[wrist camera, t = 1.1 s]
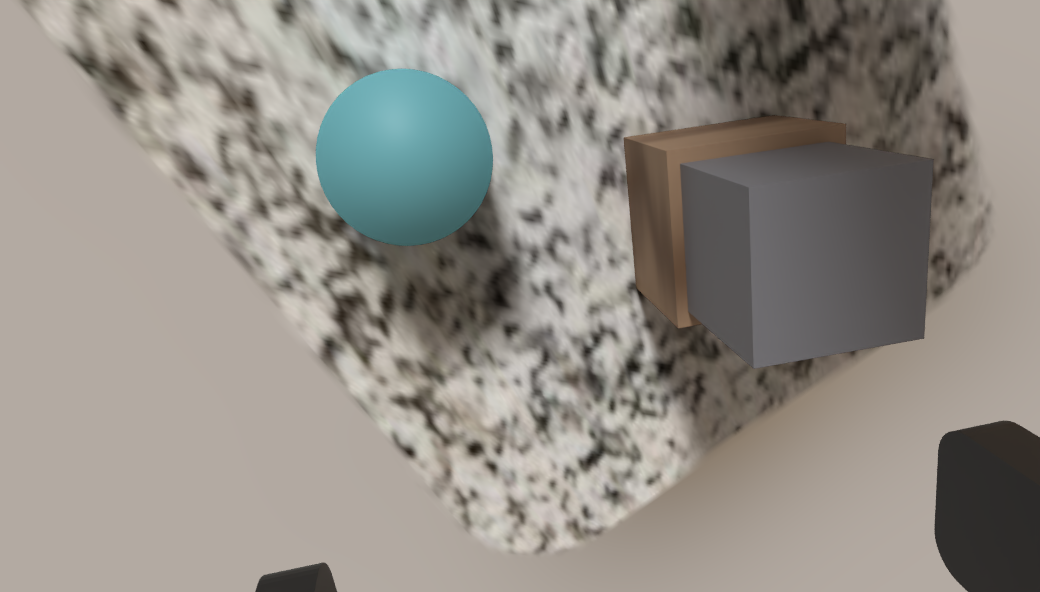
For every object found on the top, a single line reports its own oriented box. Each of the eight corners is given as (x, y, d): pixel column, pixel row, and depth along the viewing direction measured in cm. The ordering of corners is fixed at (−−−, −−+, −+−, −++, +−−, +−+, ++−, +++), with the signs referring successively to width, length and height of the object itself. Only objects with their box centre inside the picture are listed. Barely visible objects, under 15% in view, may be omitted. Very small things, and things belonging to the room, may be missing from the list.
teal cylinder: (324, 79, 25) (297, 82, 20) (465, 60, 26) (479, 57, 20) (352, 219, 27) (335, 258, 21) (485, 198, 27) (503, 231, 22)
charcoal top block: (680, 163, 23) (748, 187, 18) (828, 141, 24) (933, 159, 19) (688, 311, 25) (753, 368, 20) (827, 288, 25) (924, 338, 20)
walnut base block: (622, 137, 28) (666, 151, 23) (773, 114, 28) (846, 123, 23) (635, 287, 29) (678, 328, 25) (776, 263, 30) (844, 299, 25)
